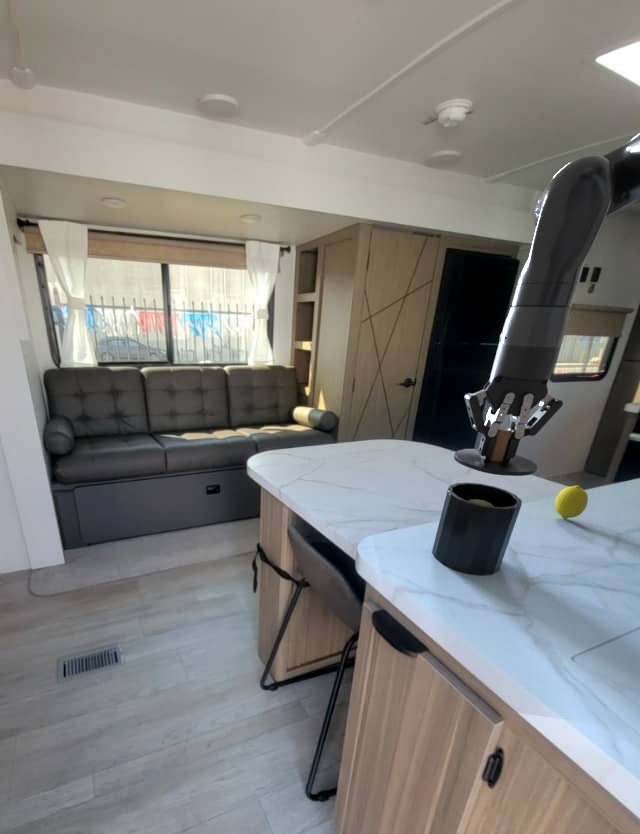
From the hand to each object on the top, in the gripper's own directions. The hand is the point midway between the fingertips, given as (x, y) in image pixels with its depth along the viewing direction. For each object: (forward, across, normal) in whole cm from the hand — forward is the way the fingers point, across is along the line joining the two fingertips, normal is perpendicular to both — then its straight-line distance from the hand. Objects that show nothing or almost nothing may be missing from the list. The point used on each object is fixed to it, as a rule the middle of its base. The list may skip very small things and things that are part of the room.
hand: (494, 458), depth 65 cm
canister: (+19, 0, 0) cm, 19 cm away
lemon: (+19, +28, +23) cm, 41 cm away
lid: (+1, 0, 0) cm, 1 cm away
